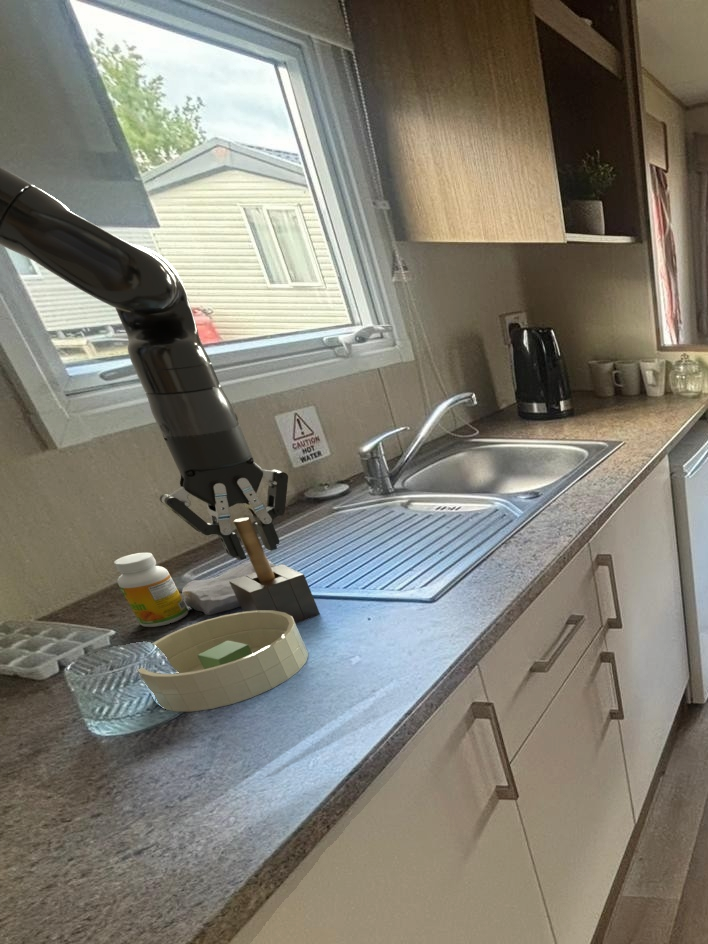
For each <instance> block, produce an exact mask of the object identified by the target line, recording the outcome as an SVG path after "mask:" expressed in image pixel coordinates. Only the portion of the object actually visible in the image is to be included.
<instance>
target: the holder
mask: <svg viewBox="0 0 708 944" xmlns="http://www.w3.org/2000/svg"><path fill="white" fill-rule="evenodd" d="M271 569H272V571H273V573H274V576H275V579H272V580H269V581H266V582H263V583H260V581H259V579H258V577H257V574H256V573H253V574H250V575H247V576H244V577H241V578H238V579H234V580H231V581H229V583H230V585H231V587H232V589H233V591H234V593H235V595H236V598H237V600H238V602H239V604H240V606H241V607H240V608H241V610H242V612H246V611H256V610H273V611H279V612H284V613H287V614H288V615H290V616H292V617H293V619H294V622H295V624H296V625H297V624H298V623H302V622H304V621H306V620H309V619H311V618H314V617H317V616H320V615H321V613H320V610H319V608H318V605H317V603H316V601H315V598H314V595H313V593H312V591H311V588H310V586H309V583H308V581H307V579H306V575H305V574H304V573H302V572H300V571H297V570H295V569H293V568H292V567H289V566H287V565H286V564H283V563H281V564H279V565H276V566H275V567H272V568H271Z"/></svg>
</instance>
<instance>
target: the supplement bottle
mask: <svg viewBox="0 0 708 944" xmlns="http://www.w3.org/2000/svg"><path fill="white" fill-rule="evenodd" d="M113 564H114V566H115V568H116V569H117V571H118V573H121V575H120V576H118V577H117V579H116V582H117V585H118V586H119V589H120V590H121V592H122V594H123V597H124V598H125V599H126V601H127V603H128V604H129V606H130V608H131V610H132V612H133V614H134V616H135V617H136V619H137V621H138V622H139V625H141V626H142V627H146V628H155V627H157V628H158V627H163V626H166V625H167V626H168V625H170V623H171V624H173V623H176V622H178V621H180V620H182V619H184V618H185V617H186V616H188V614H189V609H188V607H187V604H186V603H185V601H184V599H183V596H182V594H181V593H180V592H179V589H178V587H177V586H176V584H175V582H174V580H173V577H172V576H171V574H170V573H169V571H168V569H167V568H166V567H163V566H161V565H157V560H156V559H155V557H154V555H153V554H152V553H151V552H136V553H132V554H128V555H124V556H121V557H119V558H117V559H116V560H114V562H113Z"/></svg>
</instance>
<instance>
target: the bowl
mask: <svg viewBox="0 0 708 944" xmlns="http://www.w3.org/2000/svg"><path fill="white" fill-rule="evenodd" d="M227 640H228V641H233V642H238V643H243V644H248V645H249V647H250V649H251V652H252V654H250V655H248V656H245V657H243V658H240V659H238V660H235V661H232V662H229V663H226V664H223V665H219V666H216V667H213V668H208V669H204V667H203V665H202V663H201V662H200V660H199V658H198V656H197V655H198V654H200V653H202V652H205V651H207V650H209V649H211V648H213V647H215V646H217V645H219V644H221V643H223V642H225V641H227ZM151 644H154V645H156V646H157V647H158V648H159V649H160V650H161V651H162V652H163V653H164V654H165V656H166V657H167V659H168V661H169V662H170V664H171V665H172V666H173V668H174V669H175V670H177V671H178V672H179V673H176V674H161V673H154V672H150V671H147V670H146V669H144V668H143V667H141V668H140V669H138V670H137V671H138V673H139V674H140V676H141V678H142V679H143V681H144V682H145V684H146V685H147V686H148V688H149V689H150V690H151V691H152V692H153V693H154V695H155V697H156V699H157V701H158V703H159V704H160V705H161V706H162V707H164V709H163V710H165V709H166V711H170V712H177V713H178V712H181V713H192V712H199V711H207V710H208V711H209V710H213V709H218V708H222V707H227V706H231V705H234V704H237V703H240V702H243V701H245V700H249V699H252V698H254V697H257V696H259V695H261V694H264V693H265V692H268V691H270V690H272V689H275V688H277V687H278V686H279V685H281V684H283V683H285V682H287V681H288V680H289V679H291V678H292V677H293V676H295V674H297V673H298V672H300V671H301V669H302V668H304V667H303V666H304V665H305V664H306V663H307V661H308V657H309V652H308V650H307V647H306V645H305V642H304V641H303V638H302V635H301V633H300V631H299V629H298V626H297V623H296V624H295V622H294V619H293V617H292V616H290V615H288V614H287V613H284V612H279V611H273V610H256V611H246V612H243V611H240V612H235V613H230V614H223V615H219V616H216V617H213V618H208V619H205V620H201V621H199V622H195V623H193V624H189V625H187V626H184V627H182V628H180V629H177V630H175V631H173V632H171V633H168V634H166V635H165V636H162V637H161V638H159V639H157V640H156V641H154V642H152V643H151Z"/></svg>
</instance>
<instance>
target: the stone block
mask: <svg viewBox="0 0 708 944" xmlns="http://www.w3.org/2000/svg"><path fill="white" fill-rule="evenodd" d="M268 562H269V564H270V566H271V568H272V567H275V566H277V565H276V564H275V563H273V562H272V561H271V560H268ZM253 573H256V572H255V570H254V568H253V565H252V563H251V561H250V560H248V561H245V562H243V563H241V564H238V565H236V566H233V567H231V568H229V569H227V570H225V572H223V573H222V574H220V575H218V576H216V577H211V578H207V579H204V580H192V581H188V582H187V583H186V584H185V585H184V587H183V588H182V590H181V597H182V599H183V601H184V603H185V605H186V607H187V606H188V608H191V609H193V610H195V611H196V612H200V613H201V612H202V613H204V615H206V616H211V615H215V614H218V613H221V612H226V611H230V610H234V609H236V608H241V606H240V604H239V602H238V600H237V598H236V595H235V593H234V591H233V589H232V587H231V585H230V583H229V581H231V580H234V579H238V578H241V577H244V576H247V575H250V574H253Z"/></svg>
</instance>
